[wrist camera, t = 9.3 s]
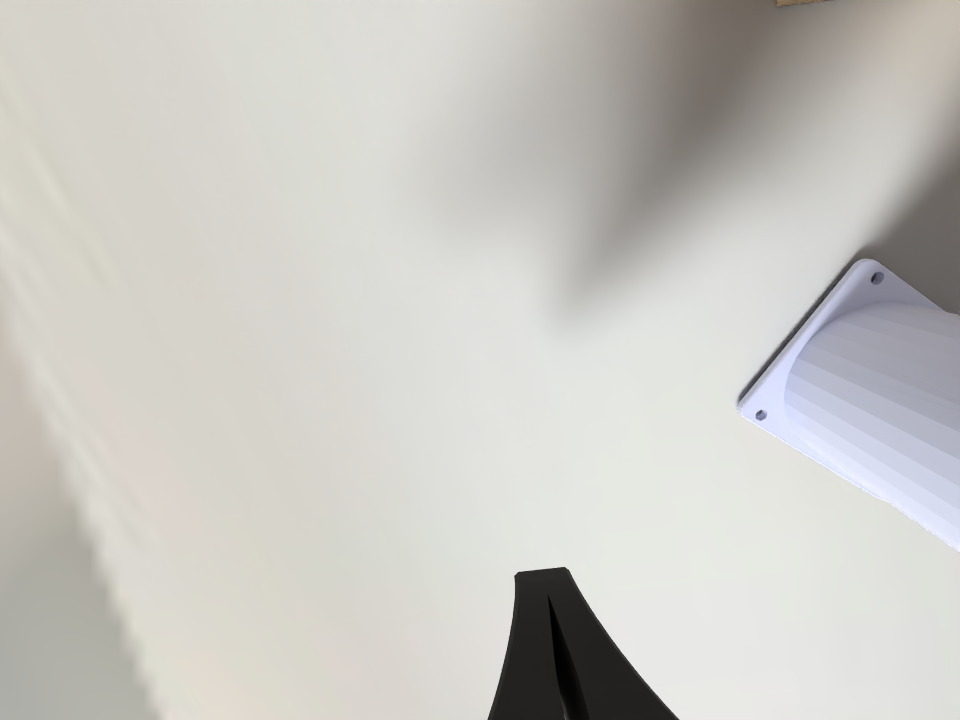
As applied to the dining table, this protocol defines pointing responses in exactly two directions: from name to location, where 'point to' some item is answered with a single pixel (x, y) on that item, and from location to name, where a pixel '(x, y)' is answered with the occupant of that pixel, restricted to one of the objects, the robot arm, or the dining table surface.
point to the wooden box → (795, 2)
